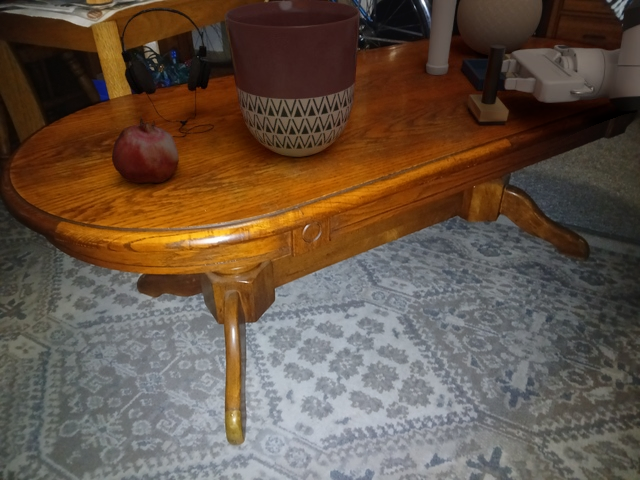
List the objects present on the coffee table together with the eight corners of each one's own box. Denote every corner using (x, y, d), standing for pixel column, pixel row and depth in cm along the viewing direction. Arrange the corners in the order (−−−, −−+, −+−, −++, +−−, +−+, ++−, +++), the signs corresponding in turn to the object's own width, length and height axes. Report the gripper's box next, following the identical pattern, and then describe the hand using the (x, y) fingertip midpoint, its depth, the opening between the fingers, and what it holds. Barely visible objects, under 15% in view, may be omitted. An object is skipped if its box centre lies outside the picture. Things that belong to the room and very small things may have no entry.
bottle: (427, 75, 119) (440, -48, 105) (423, 69, 123) (435, -50, 109) (450, 75, 119) (465, -48, 105) (444, 68, 123) (459, -51, 109)
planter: (256, 125, 95) (245, -1, 83) (361, 129, 93) (365, 0, 80) (224, 172, 79) (205, 25, 67) (350, 179, 77) (353, 28, 65)
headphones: (132, 141, 90) (103, 19, 78) (138, 118, 99) (112, 6, 87) (219, 134, 92) (203, 14, 81) (217, 112, 101) (202, 2, 90)
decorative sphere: (482, 41, 145) (495, -39, 134) (547, 55, 132) (567, -33, 121) (436, 53, 135) (445, -32, 123) (502, 70, 122) (519, -24, 110)
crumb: (518, 71, 119) (521, 53, 117) (523, 76, 116) (527, 58, 113) (500, 71, 119) (504, 54, 117) (506, 76, 116) (509, 58, 113)
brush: (492, 108, 101) (504, 40, 94) (506, 125, 93) (520, 53, 86) (466, 108, 101) (477, 40, 94) (478, 125, 93) (490, 53, 86)
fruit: (109, 177, 78) (92, 114, 73) (166, 159, 83) (154, 99, 78) (133, 199, 73) (116, 133, 67) (193, 179, 77) (182, 115, 72)
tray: (560, 68, 122) (562, 57, 121) (588, 89, 109) (591, 77, 108) (461, 69, 123) (462, 59, 121) (477, 90, 110) (479, 78, 108)
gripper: (594, 112, 85) (509, 112, 85) (552, 75, 102) (481, 76, 102) (605, 73, 81) (517, 74, 82) (560, 42, 98) (487, 43, 99)
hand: (497, 75), depth 92 cm, fingers open, 8 cm apart
